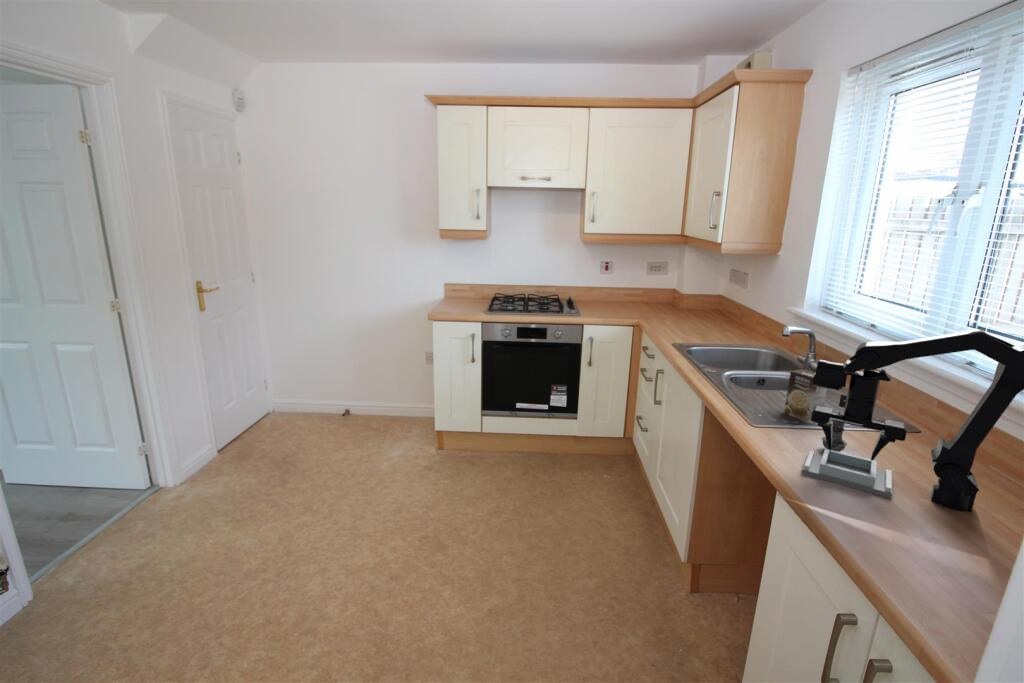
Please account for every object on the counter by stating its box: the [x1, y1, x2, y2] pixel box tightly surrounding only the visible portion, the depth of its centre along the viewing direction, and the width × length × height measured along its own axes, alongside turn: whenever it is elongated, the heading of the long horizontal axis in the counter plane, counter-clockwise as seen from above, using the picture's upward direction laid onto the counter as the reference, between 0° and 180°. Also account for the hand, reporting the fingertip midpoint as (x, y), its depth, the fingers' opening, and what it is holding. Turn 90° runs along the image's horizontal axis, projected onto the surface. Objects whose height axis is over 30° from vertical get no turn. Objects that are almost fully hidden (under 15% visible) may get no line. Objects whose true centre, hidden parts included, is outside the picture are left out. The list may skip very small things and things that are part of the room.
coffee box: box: [783, 368, 828, 424], centre depth 154 cm, size 9×6×16 cm
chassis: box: [801, 448, 893, 499], centre depth 121 cm, size 18×12×4 cm, turn 53°
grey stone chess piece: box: [821, 411, 848, 452], centre depth 133 cm, size 6×6×12 cm
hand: (850, 454), depth 120 cm, fingers open, 8 cm apart
